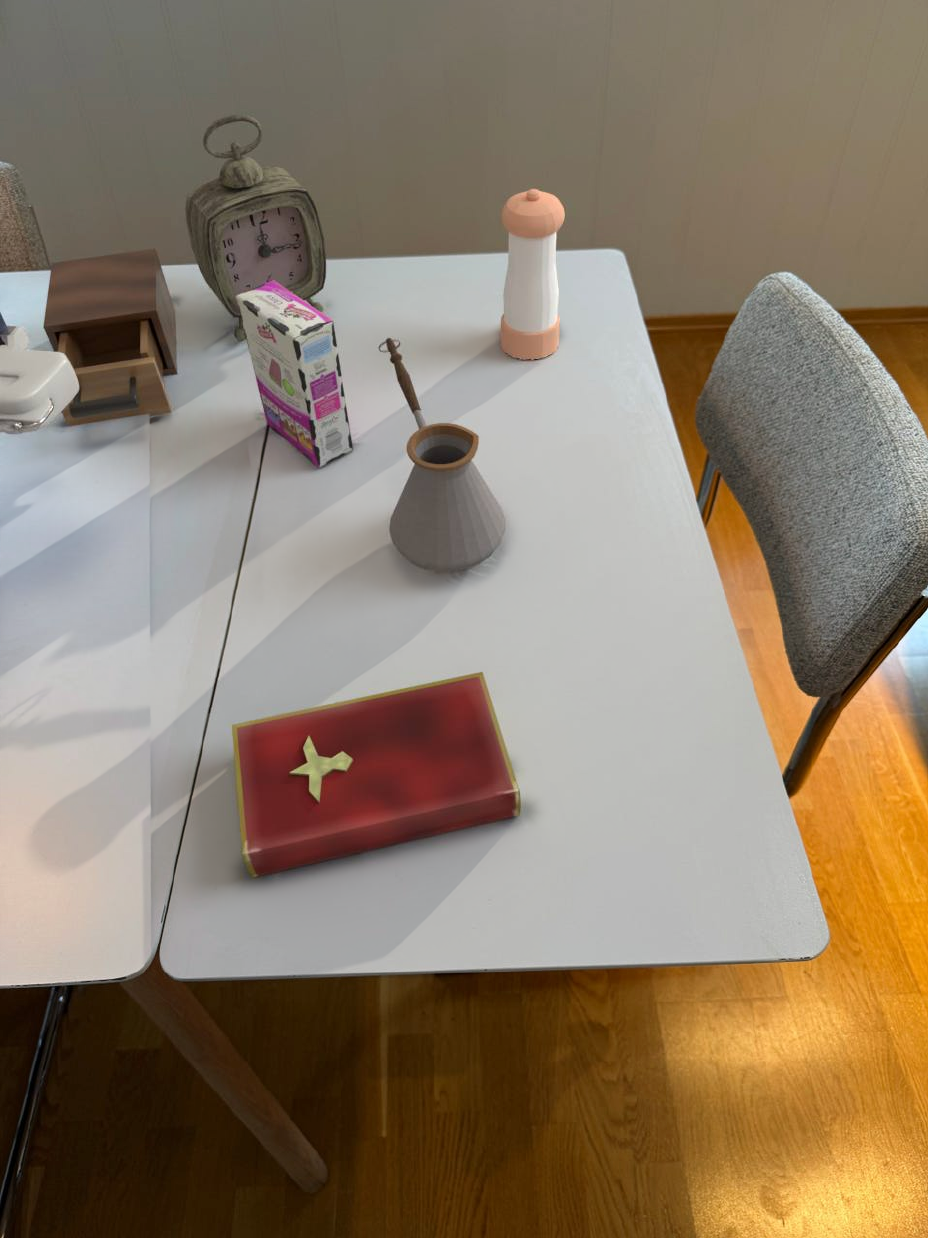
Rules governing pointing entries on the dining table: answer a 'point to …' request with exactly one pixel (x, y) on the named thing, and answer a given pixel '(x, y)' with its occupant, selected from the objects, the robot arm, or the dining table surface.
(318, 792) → the hardcover book
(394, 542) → the coffee pot
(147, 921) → the dining table surface
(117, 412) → the drawer
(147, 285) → the cabinet
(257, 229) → the tabletop clock
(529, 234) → the pepper shaker
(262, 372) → the candy bar box
